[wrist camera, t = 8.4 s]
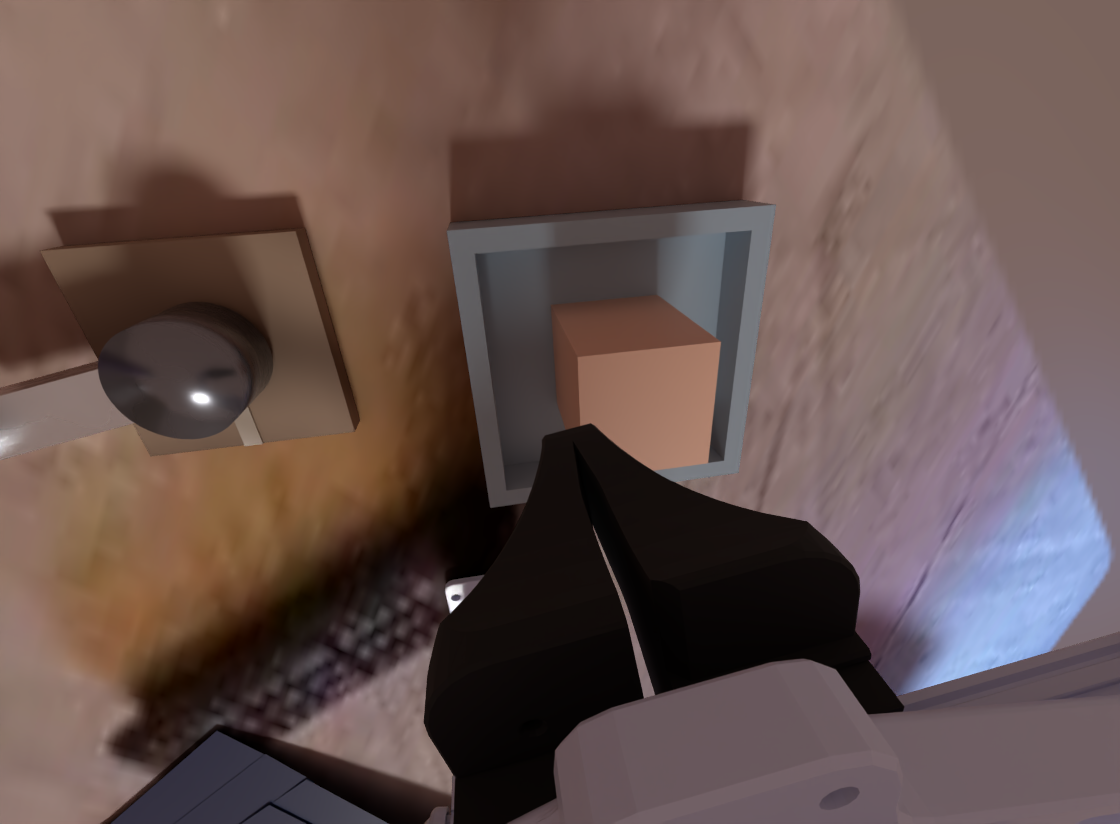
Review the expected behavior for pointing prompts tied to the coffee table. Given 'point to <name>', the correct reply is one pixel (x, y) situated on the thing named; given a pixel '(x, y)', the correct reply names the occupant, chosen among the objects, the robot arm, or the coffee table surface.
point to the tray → (599, 274)
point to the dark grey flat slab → (239, 792)
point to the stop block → (637, 377)
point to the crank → (146, 382)
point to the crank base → (240, 285)
